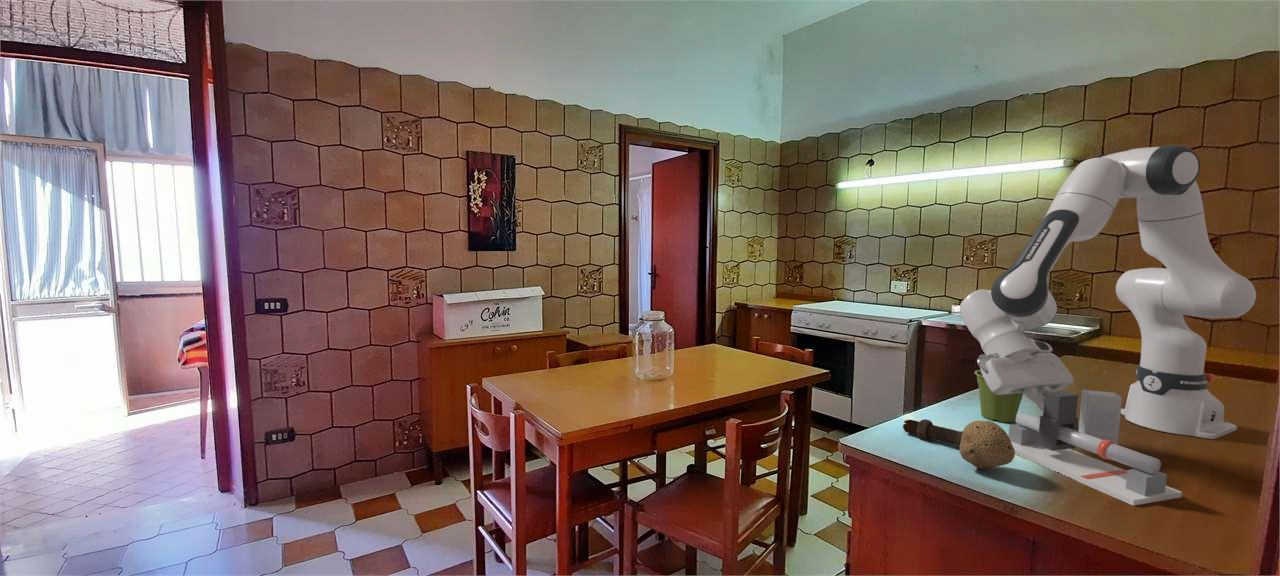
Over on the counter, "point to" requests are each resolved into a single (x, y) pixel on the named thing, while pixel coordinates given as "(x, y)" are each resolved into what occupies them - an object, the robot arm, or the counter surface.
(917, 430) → the bolt
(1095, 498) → the counter surface
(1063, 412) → the collar
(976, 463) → the natural sponge
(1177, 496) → the pipe stand
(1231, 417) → the counter surface
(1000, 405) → the plant pot
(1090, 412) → the skincare box
